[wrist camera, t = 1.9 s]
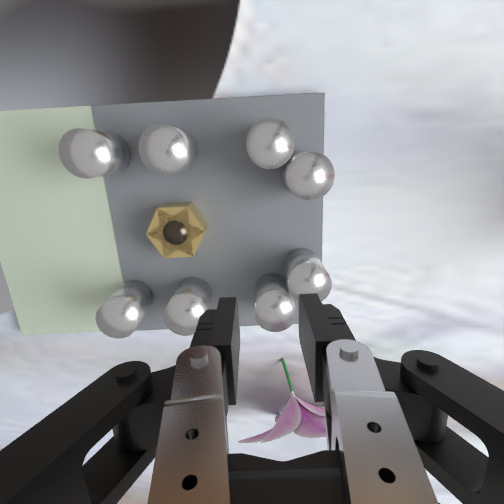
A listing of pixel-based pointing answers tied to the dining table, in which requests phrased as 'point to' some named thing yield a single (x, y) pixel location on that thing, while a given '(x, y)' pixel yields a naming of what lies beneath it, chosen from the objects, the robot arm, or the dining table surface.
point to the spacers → (181, 158)
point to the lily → (295, 419)
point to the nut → (177, 229)
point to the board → (148, 209)
